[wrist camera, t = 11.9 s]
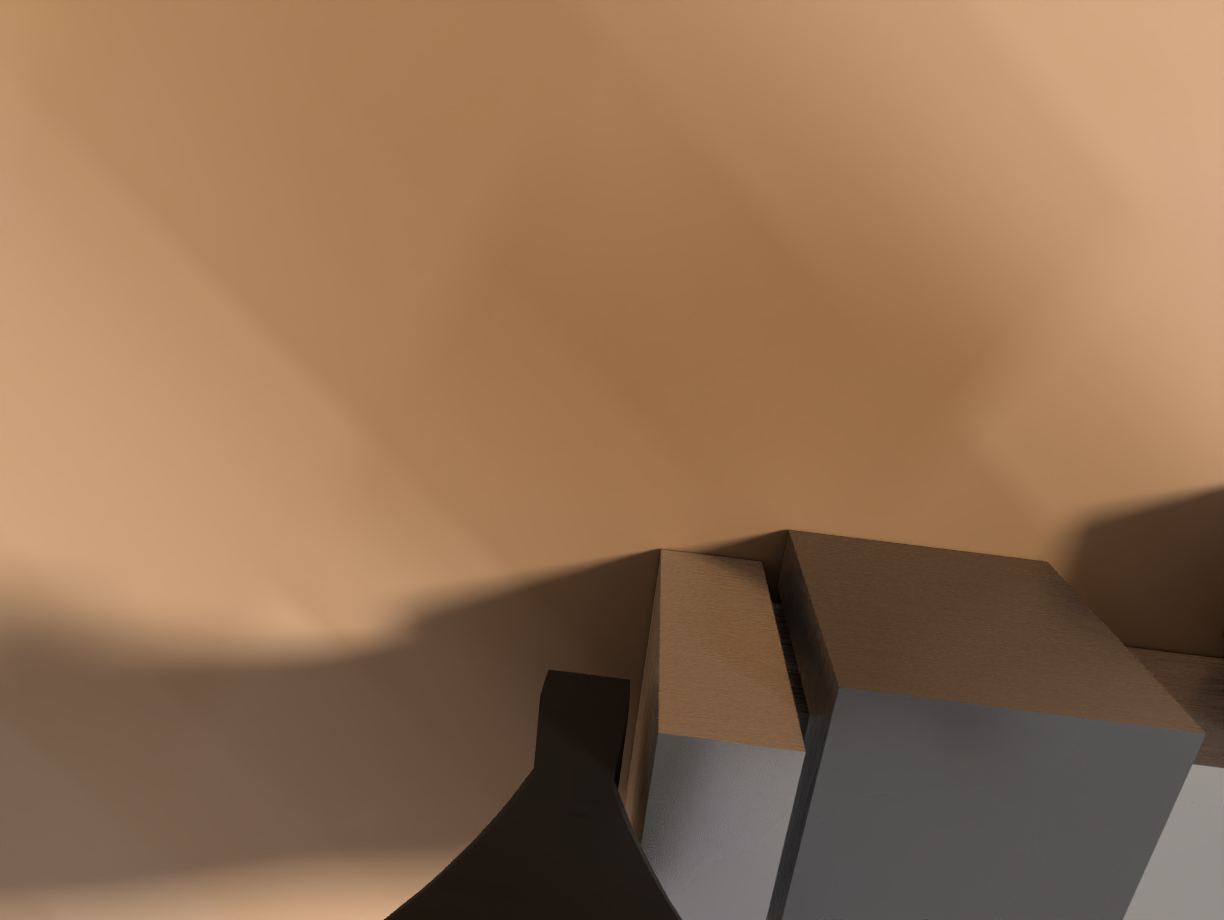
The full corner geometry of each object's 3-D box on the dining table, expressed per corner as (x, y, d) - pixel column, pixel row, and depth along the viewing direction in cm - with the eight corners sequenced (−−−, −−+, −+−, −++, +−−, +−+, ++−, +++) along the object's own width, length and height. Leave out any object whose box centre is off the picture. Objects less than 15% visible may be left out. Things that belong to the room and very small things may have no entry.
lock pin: (1276, 882, 15) (1516, 1169, 10) (625, 796, 15) (609, 1044, 11) (1403, 641, 13) (1752, 874, 9) (661, 549, 13) (658, 732, 9)
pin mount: (946, 865, 15) (1040, 1104, 11) (726, 835, 15) (746, 1064, 11) (1047, 561, 13) (1205, 732, 9) (789, 530, 13) (838, 686, 9)
